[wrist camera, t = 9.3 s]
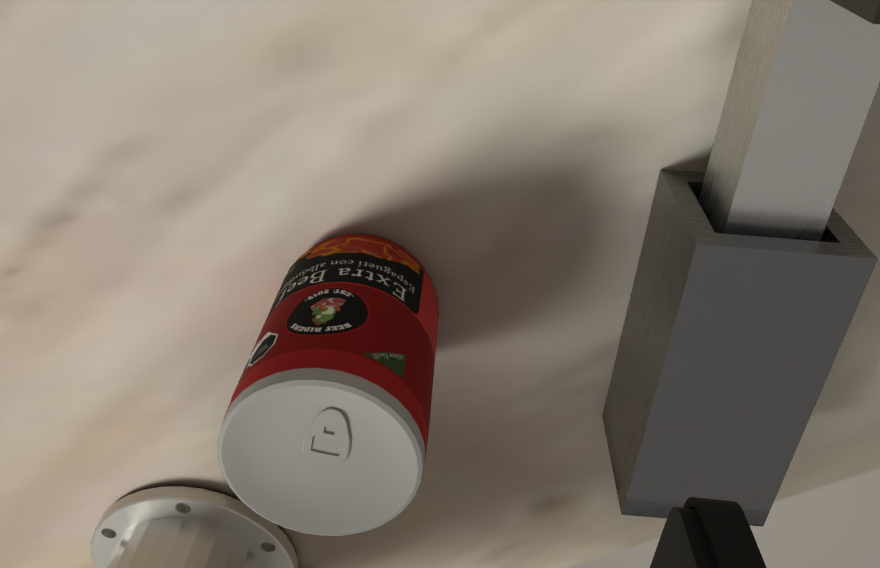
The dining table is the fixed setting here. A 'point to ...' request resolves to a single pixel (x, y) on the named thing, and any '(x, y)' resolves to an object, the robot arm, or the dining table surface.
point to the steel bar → (792, 116)
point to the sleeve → (723, 354)
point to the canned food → (336, 391)
